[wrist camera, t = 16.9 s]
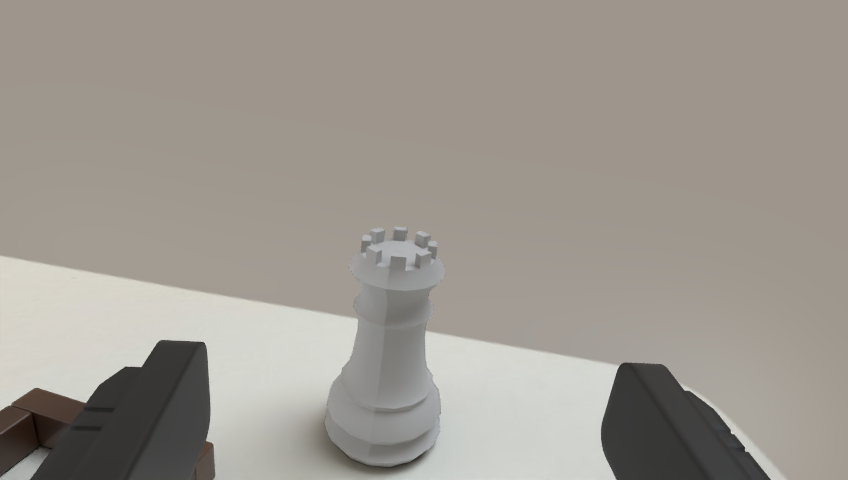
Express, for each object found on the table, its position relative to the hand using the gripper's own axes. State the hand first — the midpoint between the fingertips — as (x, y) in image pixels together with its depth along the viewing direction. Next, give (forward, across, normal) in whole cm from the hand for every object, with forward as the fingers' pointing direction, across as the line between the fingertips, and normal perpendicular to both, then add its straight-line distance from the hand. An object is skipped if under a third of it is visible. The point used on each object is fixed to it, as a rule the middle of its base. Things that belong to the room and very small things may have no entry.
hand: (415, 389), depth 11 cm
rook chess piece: (+8, 0, +9) cm, 12 cm away
